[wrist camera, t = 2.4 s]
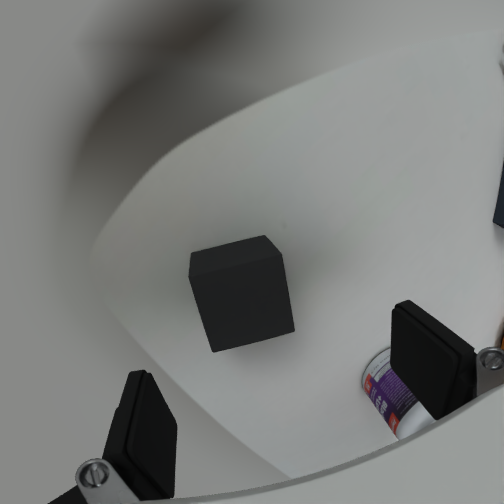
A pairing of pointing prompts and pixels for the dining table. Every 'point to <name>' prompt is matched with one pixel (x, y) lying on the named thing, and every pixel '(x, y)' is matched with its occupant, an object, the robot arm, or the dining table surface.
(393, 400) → the pill bottle
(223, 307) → the block
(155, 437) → the robot arm
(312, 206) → the dining table surface
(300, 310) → the dining table surface
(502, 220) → the dark blue square frame
